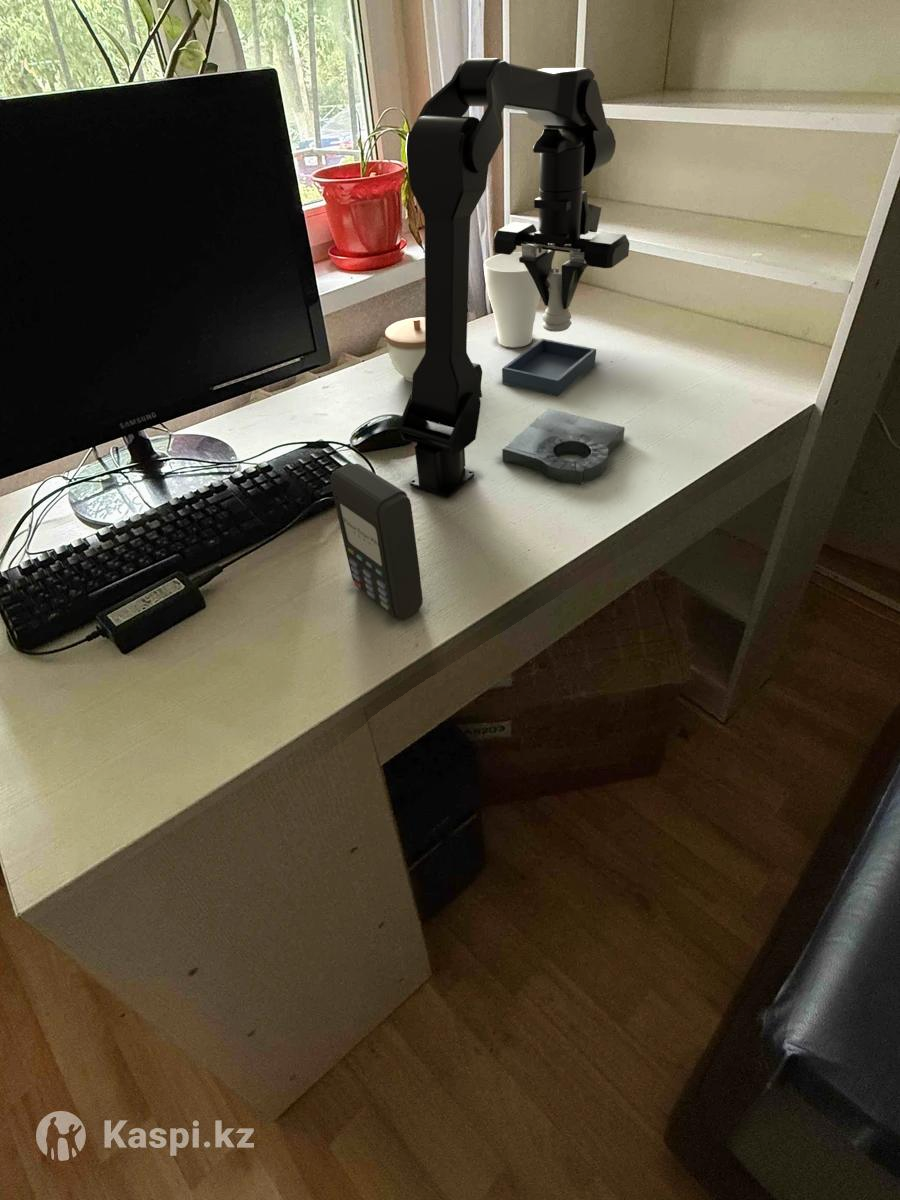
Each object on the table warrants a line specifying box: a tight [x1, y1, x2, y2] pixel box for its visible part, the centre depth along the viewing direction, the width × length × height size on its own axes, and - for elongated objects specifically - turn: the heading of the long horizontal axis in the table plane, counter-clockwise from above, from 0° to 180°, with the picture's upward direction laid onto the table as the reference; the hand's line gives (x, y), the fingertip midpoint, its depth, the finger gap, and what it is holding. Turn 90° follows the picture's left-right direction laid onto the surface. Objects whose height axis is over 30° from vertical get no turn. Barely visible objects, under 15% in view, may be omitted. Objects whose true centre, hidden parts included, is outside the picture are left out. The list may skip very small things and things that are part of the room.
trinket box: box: [384, 316, 425, 383], centre depth 113 cm, size 11×11×9 cm
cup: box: [483, 251, 541, 349], centre depth 119 cm, size 10×10×14 cm
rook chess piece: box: [541, 267, 572, 333], centre depth 101 cm, size 4×4×8 cm
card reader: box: [330, 462, 423, 620], centre depth 70 cm, size 9×4×15 cm, turn 42°
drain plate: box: [501, 408, 626, 486], centre depth 94 cm, size 14×13×2 cm
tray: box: [501, 338, 597, 397], centre depth 112 cm, size 13×10×3 cm
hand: (557, 306), depth 101 cm, fingers closed on rook chess piece, 3 cm apart
